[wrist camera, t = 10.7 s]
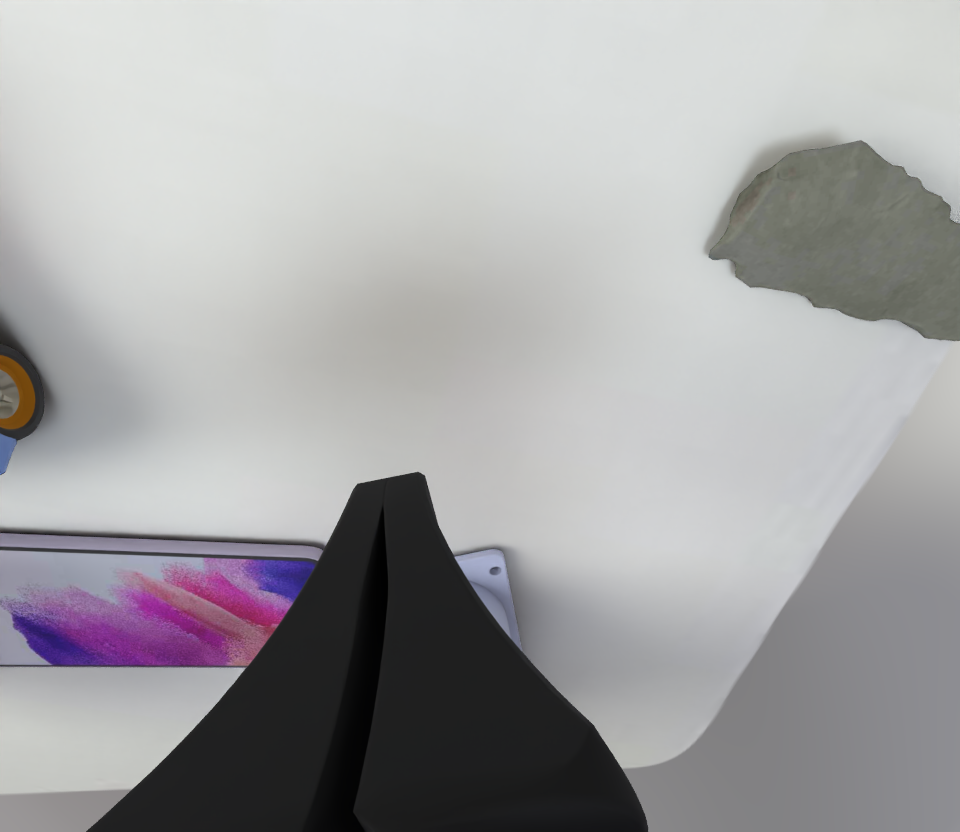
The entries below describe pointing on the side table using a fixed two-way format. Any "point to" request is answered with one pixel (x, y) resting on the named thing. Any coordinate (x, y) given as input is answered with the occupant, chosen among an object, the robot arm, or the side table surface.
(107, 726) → the side table surface
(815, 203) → the stone
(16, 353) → the toy car
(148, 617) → the smartphone
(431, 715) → the robot arm
